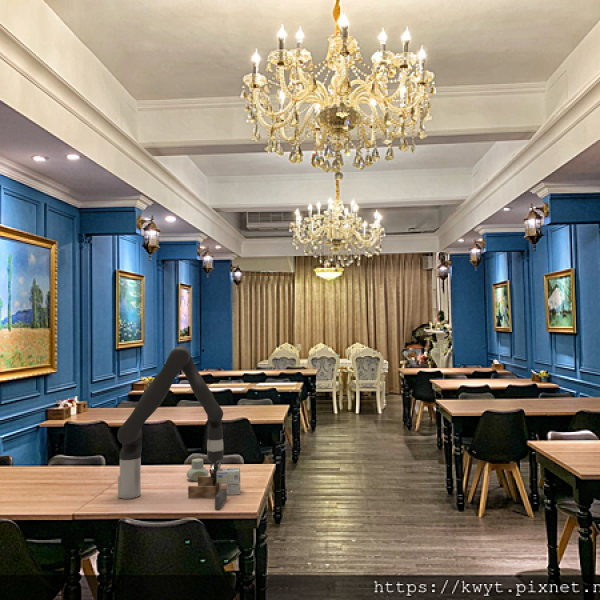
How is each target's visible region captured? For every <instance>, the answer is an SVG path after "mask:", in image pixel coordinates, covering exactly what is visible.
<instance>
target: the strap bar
mask: <svg viewBox="0 0 600 600" xmlns="http://www.w3.org/2000/svg"><path fill="white" fill-rule="evenodd" d="M227 497H228V495H227V486H226V484H222V485H221V490H220V491H219V492H218V493H217V495H216V496H215V498H214V510H220V509H221V508H222V507H223V505H224V504H225V502H226V501H227Z"/></svg>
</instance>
